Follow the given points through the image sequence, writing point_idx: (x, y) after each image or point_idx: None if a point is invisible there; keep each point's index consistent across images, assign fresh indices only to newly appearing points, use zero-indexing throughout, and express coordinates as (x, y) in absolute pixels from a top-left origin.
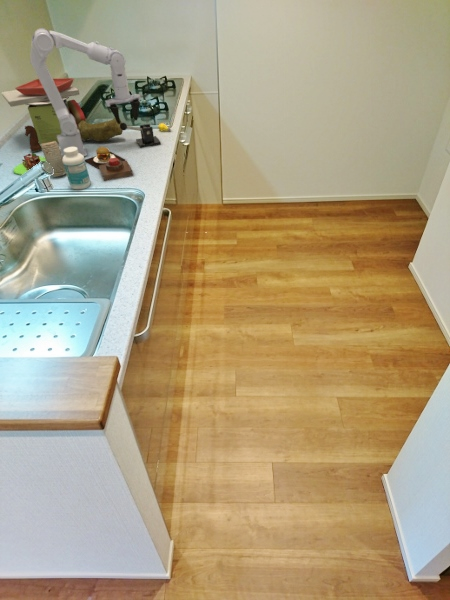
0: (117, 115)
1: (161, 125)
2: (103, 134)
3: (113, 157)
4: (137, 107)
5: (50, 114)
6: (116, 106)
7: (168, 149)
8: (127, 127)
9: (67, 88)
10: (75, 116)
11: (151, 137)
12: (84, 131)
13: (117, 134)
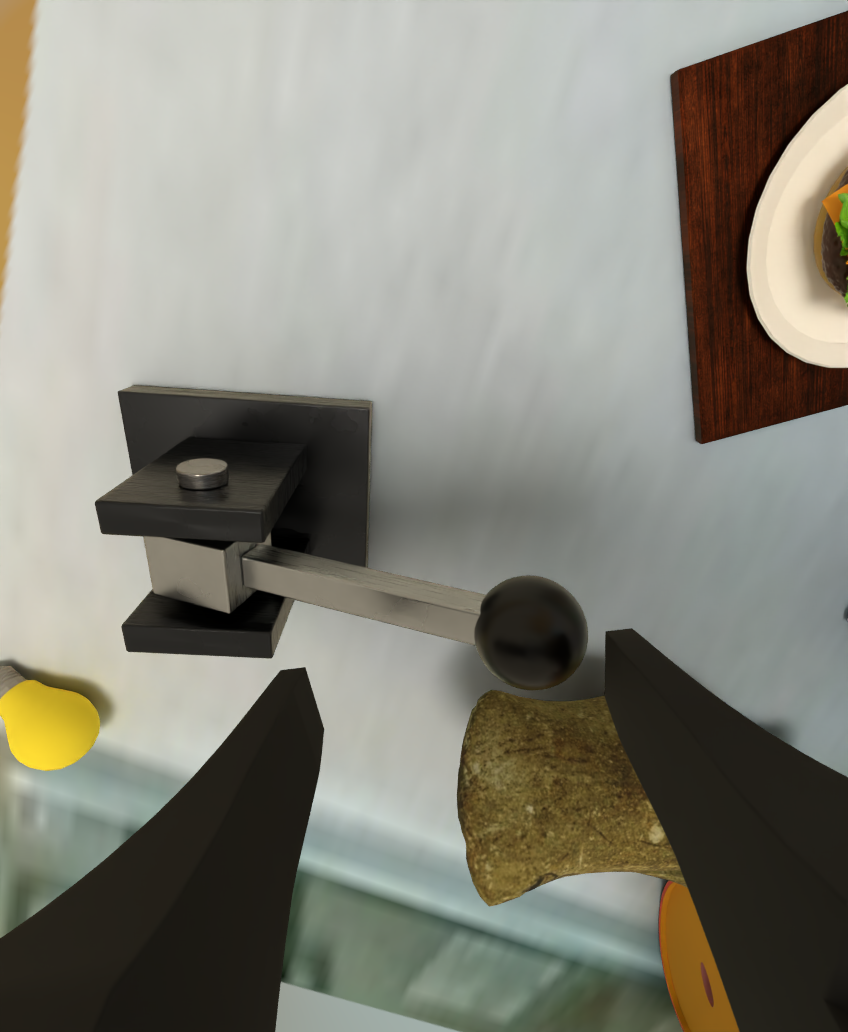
0: (733, 730)
1: (45, 733)
2: None
3: (771, 221)
4: (127, 870)
5: None
6: (841, 1017)
7: (50, 169)
8: (473, 600)
9: None
10: None
11: (195, 453)
12: None
13: (526, 698)
